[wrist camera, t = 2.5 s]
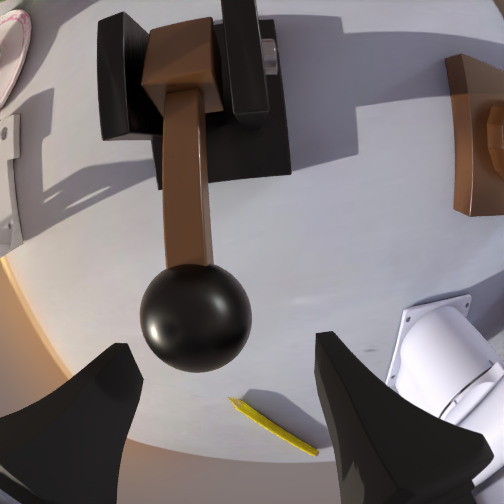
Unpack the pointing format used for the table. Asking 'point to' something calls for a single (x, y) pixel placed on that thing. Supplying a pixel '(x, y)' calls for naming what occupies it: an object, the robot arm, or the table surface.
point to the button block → (477, 135)
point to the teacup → (12, 49)
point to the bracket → (9, 185)
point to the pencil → (272, 426)
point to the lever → (189, 208)
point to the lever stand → (217, 123)
